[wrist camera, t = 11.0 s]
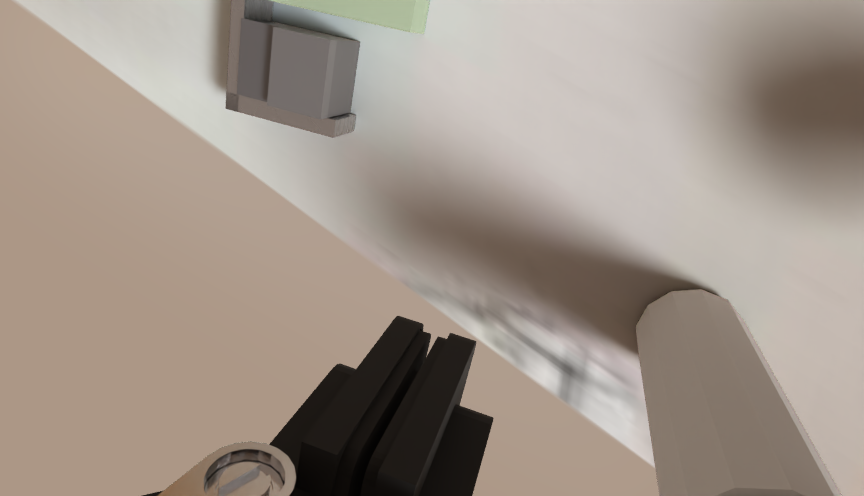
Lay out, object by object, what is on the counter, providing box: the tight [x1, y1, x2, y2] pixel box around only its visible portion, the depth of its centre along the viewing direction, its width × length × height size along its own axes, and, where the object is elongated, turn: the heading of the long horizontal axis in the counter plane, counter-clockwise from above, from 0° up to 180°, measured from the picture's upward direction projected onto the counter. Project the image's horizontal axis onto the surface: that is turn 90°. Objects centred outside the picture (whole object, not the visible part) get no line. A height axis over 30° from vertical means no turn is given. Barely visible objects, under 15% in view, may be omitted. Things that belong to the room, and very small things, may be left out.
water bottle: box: [636, 289, 842, 496], centre depth 27 cm, size 9×8×25 cm
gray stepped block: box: [237, 18, 360, 120], centre depth 38 cm, size 5×7×5 cm
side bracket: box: [226, 0, 356, 138], centre depth 38 cm, size 8×8×4 cm
